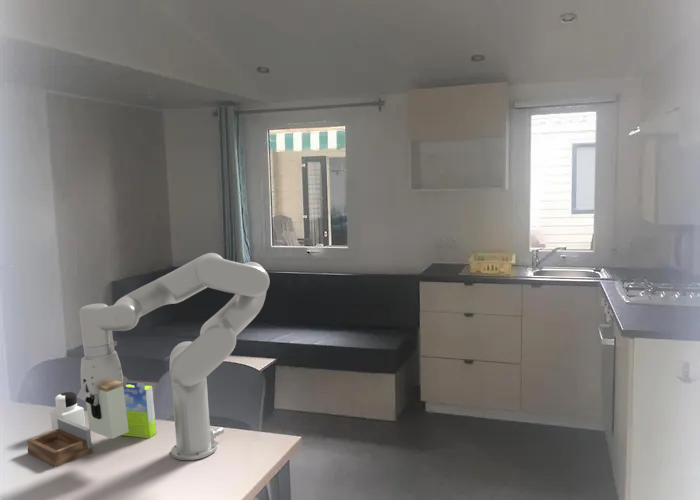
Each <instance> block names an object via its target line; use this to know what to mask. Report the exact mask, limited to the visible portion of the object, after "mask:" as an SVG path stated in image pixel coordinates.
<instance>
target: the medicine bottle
mask: <svg viewBox="0 0 700 500" xmlns="http://www.w3.org/2000/svg"><path fill="white" fill-rule="evenodd" d="M54 400H55V402H54V403H55V409H52V410H50V419H51V420H50V421H51V430H52V431H54V430H57V429H58V422H57V419H59V418H63V419H66V420H68V421H71V422H73V423H76V424H78V425H81V426H83V427H86V421H85V420H86V418H85V410H84V409H85V408H84V407H82V406H79V405H78V398H77V394H76V393H75V392H72V391H67V392H66V391H65V392H62V393H59V394H58V395H56V396H55V397H54Z"/></svg>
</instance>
